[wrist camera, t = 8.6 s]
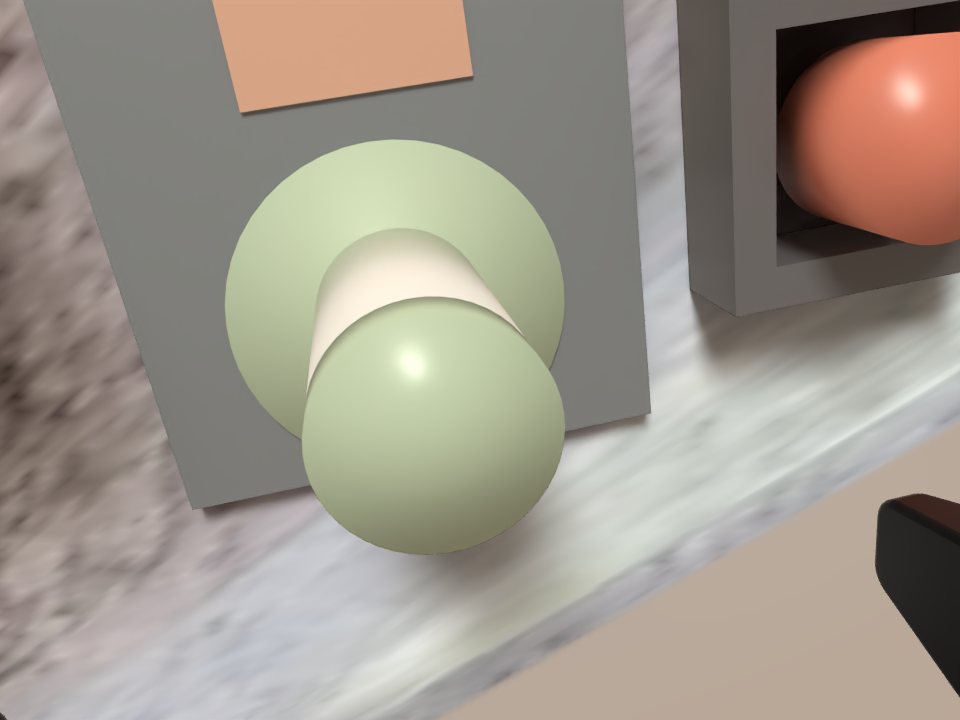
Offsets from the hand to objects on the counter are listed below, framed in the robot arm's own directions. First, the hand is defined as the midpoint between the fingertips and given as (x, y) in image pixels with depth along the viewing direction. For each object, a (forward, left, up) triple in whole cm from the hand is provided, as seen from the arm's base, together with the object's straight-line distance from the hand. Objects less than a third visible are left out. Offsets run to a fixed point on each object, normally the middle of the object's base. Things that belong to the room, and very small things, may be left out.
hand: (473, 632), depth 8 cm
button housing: (-11, -3, -12) cm, 16 cm away
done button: (-11, -2, -10) cm, 15 cm away
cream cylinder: (0, 0, -11) cm, 11 cm away
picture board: (0, -4, -12) cm, 12 cm away
